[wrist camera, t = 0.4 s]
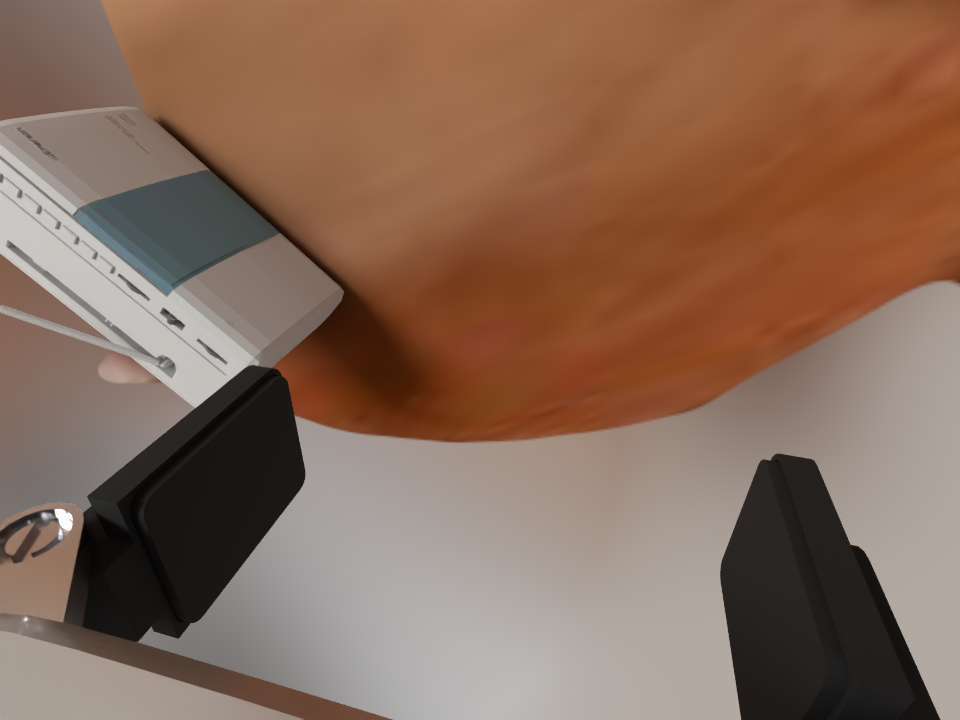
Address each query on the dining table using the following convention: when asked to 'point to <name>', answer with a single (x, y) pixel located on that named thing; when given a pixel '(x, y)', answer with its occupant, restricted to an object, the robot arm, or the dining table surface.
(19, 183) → the stereo radio cassette player
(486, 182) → the dining table surface
